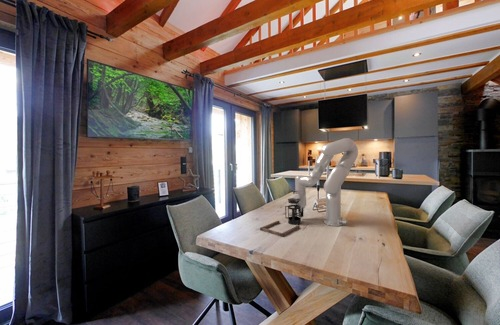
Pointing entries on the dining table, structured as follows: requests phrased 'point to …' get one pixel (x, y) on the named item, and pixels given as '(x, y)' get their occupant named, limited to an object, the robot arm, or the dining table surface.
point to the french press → (293, 211)
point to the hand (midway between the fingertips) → (300, 216)
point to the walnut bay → (277, 232)
